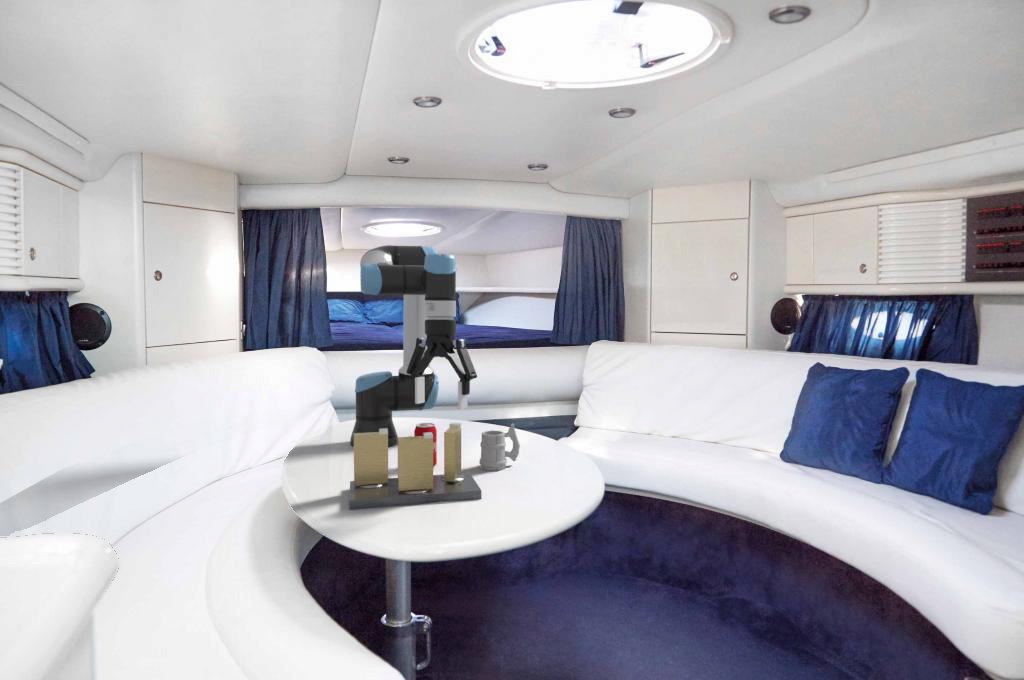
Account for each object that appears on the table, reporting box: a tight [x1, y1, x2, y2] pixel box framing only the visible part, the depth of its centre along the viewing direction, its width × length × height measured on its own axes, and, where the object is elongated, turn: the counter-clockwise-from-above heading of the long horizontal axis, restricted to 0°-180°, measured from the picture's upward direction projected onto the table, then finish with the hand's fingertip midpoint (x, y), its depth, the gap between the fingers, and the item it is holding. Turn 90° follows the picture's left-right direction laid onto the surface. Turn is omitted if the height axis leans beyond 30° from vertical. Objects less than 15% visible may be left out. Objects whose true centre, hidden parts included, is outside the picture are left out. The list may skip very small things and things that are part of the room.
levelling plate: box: [348, 472, 482, 511], centre depth 140 cm, size 15×30×2 cm, turn 105°
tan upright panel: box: [443, 422, 462, 481], centre depth 145 cm, size 8×3×13 cm, turn 173°
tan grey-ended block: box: [397, 432, 434, 491], centre depth 136 cm, size 8×3×13 cm, turn 105°
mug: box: [479, 423, 521, 472], centre depth 163 cm, size 8×12×12 cm, turn 112°
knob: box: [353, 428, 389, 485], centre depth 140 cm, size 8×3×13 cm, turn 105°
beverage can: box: [413, 422, 438, 468], centre depth 163 cm, size 6×6×12 cm
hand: (440, 405), depth 141 cm, fingers open, 13 cm apart
